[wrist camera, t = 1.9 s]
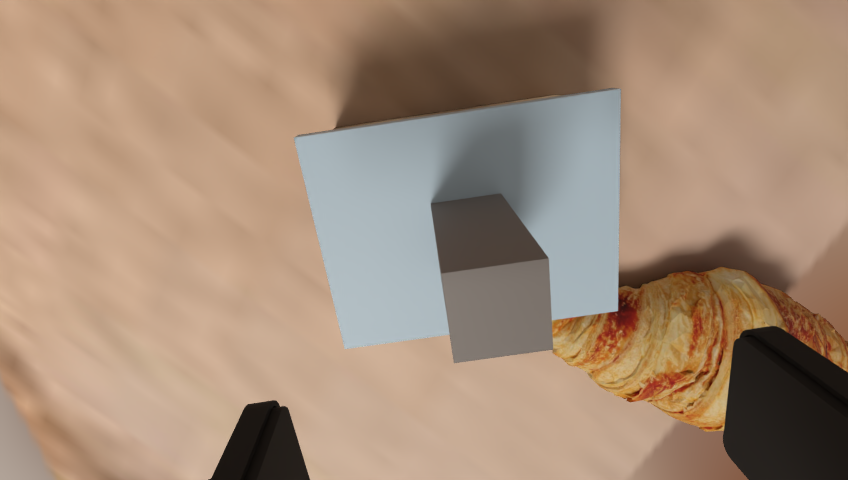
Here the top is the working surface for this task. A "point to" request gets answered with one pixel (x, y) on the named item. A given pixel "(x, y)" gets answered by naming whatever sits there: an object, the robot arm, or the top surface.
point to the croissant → (685, 340)
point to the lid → (470, 222)
